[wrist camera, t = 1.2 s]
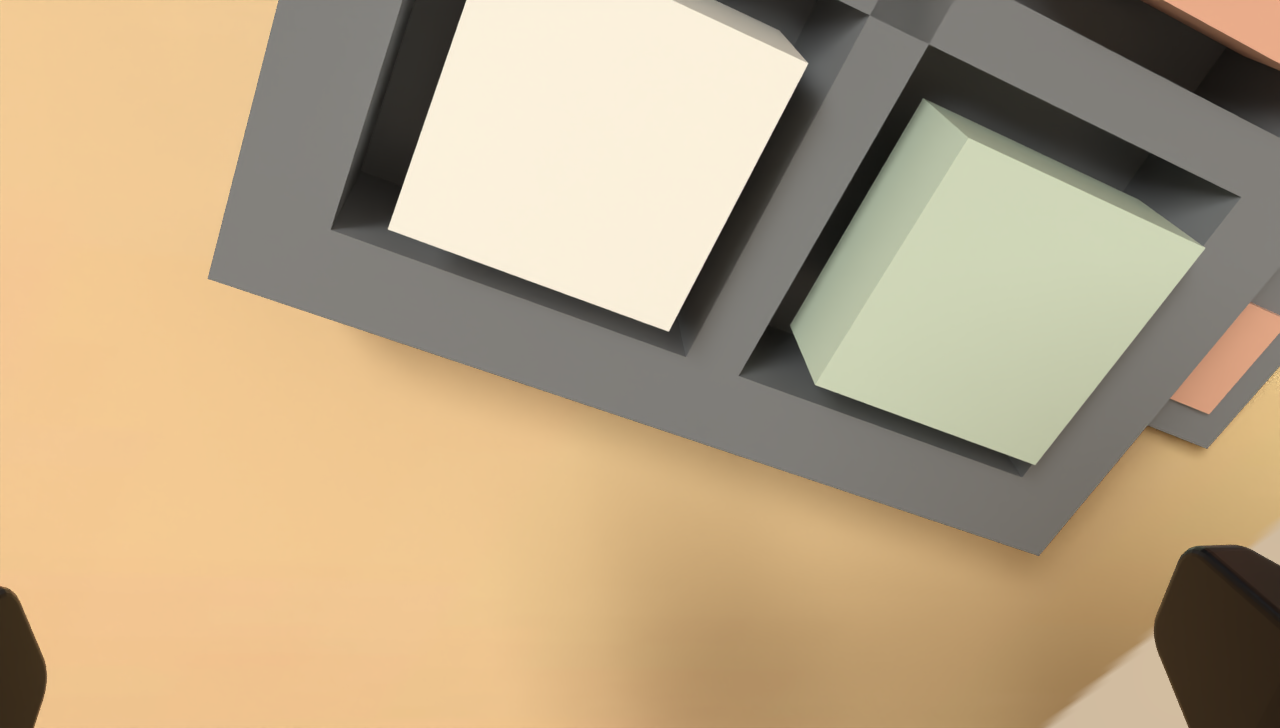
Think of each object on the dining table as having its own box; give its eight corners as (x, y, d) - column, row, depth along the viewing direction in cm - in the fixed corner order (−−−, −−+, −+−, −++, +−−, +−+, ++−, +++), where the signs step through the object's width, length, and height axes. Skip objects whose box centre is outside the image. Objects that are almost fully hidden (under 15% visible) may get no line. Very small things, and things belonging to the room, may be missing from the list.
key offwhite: (779, 30, 15) (808, 63, 13) (657, 274, 17) (668, 331, 15) (503, -100, 14) (494, -83, 12) (406, 179, 15) (387, 229, 14)
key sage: (1138, 199, 17) (1205, 247, 15) (991, 401, 18) (1035, 465, 17) (923, 97, 15) (968, 138, 14) (790, 325, 17) (815, 385, 16)
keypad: (1742, -205, 16) (1969, -202, 13) (1121, 514, 23) (1192, 607, 20) (609, -1086, 10) (625, -1368, 8) (259, 206, 18) (207, 278, 15)
